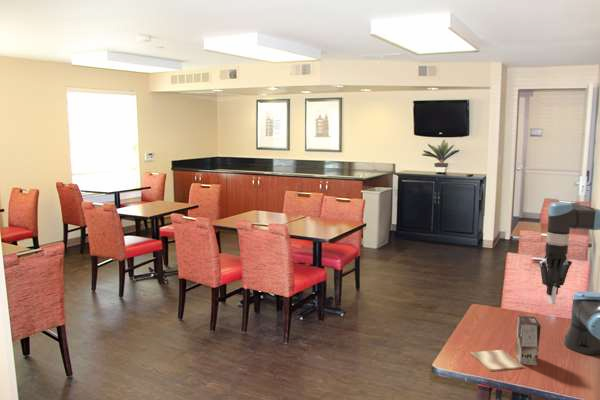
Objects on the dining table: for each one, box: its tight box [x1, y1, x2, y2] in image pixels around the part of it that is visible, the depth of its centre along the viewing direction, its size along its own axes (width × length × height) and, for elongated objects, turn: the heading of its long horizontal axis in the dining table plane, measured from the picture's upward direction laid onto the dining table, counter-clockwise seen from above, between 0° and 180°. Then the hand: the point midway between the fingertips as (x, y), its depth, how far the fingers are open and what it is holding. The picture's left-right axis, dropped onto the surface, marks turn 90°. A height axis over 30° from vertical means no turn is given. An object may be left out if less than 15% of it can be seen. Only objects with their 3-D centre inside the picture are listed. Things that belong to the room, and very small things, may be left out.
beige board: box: [470, 349, 525, 372], centre depth 194 cm, size 14×14×1 cm
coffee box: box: [514, 315, 542, 366], centre depth 194 cm, size 9×6×16 cm
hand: (551, 302), depth 194 cm, fingers closed
